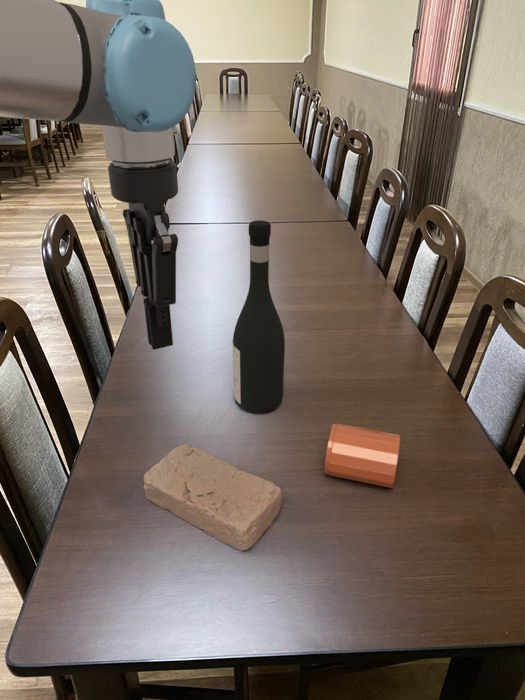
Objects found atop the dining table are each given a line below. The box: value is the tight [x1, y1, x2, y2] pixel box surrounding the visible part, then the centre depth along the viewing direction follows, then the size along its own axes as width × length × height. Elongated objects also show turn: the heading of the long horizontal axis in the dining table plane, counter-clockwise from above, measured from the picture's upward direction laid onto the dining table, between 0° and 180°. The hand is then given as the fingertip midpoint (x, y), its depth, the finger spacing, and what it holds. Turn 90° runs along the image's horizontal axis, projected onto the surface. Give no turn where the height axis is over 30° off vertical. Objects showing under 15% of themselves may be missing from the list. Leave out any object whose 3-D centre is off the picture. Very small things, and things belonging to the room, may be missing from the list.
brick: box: [143, 443, 283, 551], centre depth 68 cm, size 17×8×5 cm, turn 57°
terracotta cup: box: [323, 422, 401, 489], centre depth 72 cm, size 7×7×9 cm
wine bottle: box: [232, 219, 286, 414], centre depth 81 cm, size 8×8×30 cm
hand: (160, 343), depth 72 cm, fingers closed
